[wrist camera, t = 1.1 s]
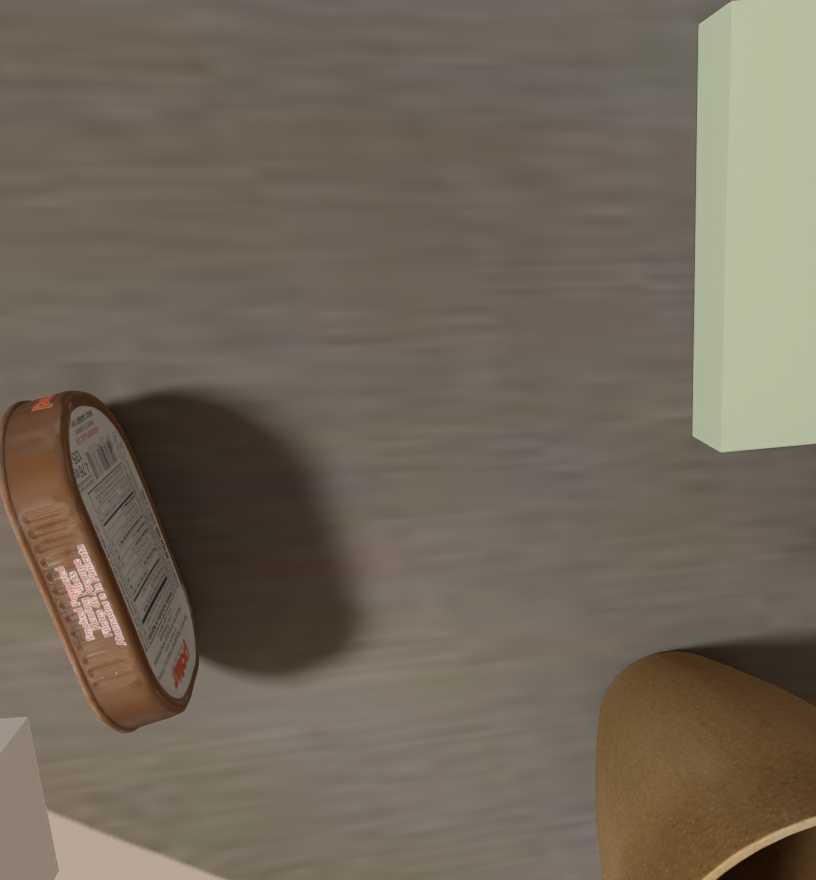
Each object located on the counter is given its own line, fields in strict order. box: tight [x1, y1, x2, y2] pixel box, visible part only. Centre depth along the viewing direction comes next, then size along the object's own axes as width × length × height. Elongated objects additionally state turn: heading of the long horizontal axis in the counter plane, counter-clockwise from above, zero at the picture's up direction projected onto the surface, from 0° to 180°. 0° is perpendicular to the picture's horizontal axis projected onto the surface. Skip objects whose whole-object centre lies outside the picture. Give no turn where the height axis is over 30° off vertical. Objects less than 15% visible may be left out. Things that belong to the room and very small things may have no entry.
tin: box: [0, 391, 199, 733], centre depth 32 cm, size 15×3×8 cm, turn 15°
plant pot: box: [596, 651, 816, 880], centre depth 31 cm, size 15×15×16 cm
